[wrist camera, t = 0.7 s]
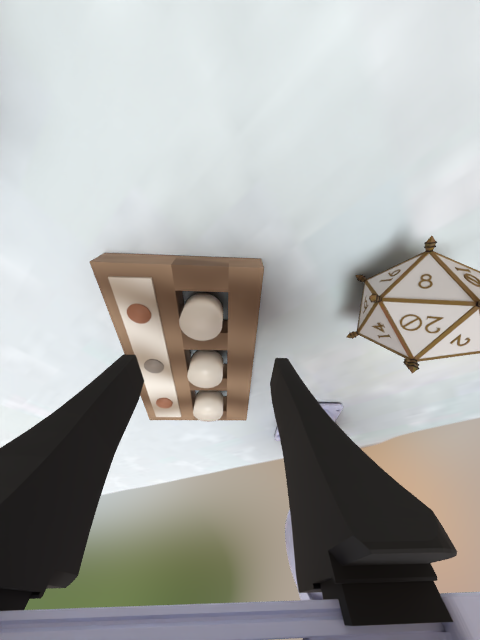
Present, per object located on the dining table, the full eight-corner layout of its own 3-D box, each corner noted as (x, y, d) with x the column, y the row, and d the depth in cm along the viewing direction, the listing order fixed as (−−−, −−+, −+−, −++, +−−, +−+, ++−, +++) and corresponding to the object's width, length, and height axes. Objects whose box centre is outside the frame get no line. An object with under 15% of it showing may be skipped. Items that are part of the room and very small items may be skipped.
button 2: (223, 405, 25) (222, 421, 23) (197, 405, 25) (194, 421, 23) (223, 388, 23) (222, 405, 21) (194, 388, 23) (191, 405, 21)
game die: (348, 286, 22) (323, 369, 18) (381, 206, 15) (352, 311, 11) (454, 309, 19) (456, 419, 14) (560, 221, 12) (628, 383, 7)
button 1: (223, 326, 18) (222, 341, 16) (186, 325, 18) (181, 340, 16) (223, 293, 16) (222, 306, 15) (182, 292, 16) (176, 305, 14)
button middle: (223, 372, 21) (222, 388, 20) (192, 371, 21) (189, 387, 20) (223, 349, 20) (222, 365, 18) (189, 349, 19) (185, 364, 18)
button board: (245, 405, 28) (246, 423, 26) (155, 405, 27) (149, 422, 25) (261, 258, 16) (264, 269, 14) (104, 252, 16) (86, 263, 14)
